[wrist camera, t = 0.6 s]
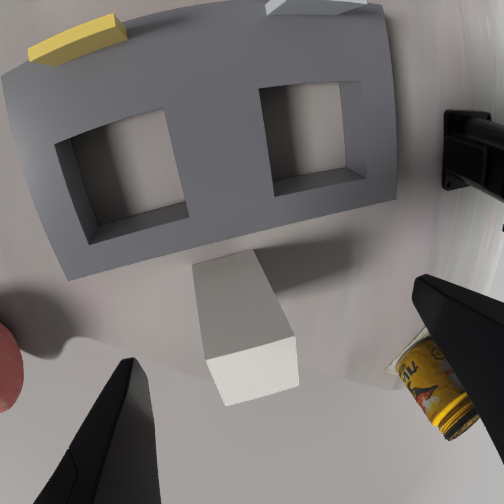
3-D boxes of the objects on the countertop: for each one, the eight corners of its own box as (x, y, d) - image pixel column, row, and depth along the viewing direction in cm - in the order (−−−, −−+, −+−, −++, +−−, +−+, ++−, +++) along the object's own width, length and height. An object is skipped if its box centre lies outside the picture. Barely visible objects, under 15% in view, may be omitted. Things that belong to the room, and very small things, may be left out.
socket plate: (359, 11, 14) (417, -4, 9) (374, 186, 20) (426, 218, 15) (21, 76, 11) (-32, 76, 6) (78, 259, 17) (54, 314, 13)
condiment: (382, 371, 32) (432, 450, 22) (431, 317, 29) (496, 392, 19) (410, 377, 35) (454, 442, 25) (452, 330, 32) (507, 393, 22)
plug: (252, 249, 20) (295, 335, 13) (261, 297, 22) (299, 385, 15) (191, 265, 19) (205, 359, 13) (206, 312, 21) (225, 406, 15)
